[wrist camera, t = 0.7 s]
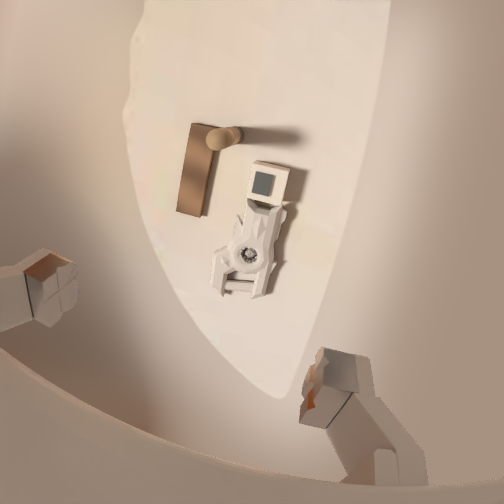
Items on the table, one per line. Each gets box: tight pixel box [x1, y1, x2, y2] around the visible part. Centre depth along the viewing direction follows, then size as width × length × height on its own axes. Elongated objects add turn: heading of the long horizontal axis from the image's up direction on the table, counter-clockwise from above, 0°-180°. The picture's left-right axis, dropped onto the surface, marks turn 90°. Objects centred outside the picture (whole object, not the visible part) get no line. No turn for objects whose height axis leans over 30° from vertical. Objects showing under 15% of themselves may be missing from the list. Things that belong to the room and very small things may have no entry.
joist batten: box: [176, 123, 219, 218], centre depth 46 cm, size 14×4×1 cm, turn 167°
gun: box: [210, 198, 287, 299], centre depth 49 cm, size 18×3×10 cm
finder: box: [246, 160, 290, 206], centre depth 44 cm, size 5×5×3 cm
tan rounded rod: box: [206, 126, 244, 151], centre depth 39 cm, size 3×3×9 cm
